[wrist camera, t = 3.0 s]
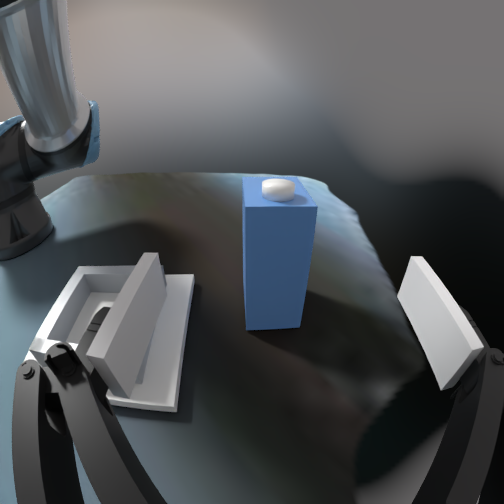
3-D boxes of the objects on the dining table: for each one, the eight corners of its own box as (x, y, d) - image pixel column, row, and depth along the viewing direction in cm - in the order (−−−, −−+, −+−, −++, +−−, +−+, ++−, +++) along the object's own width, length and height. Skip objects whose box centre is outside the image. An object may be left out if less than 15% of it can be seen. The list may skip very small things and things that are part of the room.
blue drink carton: (243, 283, 31) (242, 166, 24) (288, 281, 31) (297, 167, 24) (246, 330, 25) (245, 192, 18) (299, 327, 25) (319, 193, 18)
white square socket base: (76, 281, 30) (67, 258, 28) (194, 281, 31) (191, 255, 29) (22, 382, 16) (2, 358, 15) (176, 412, 17) (165, 390, 15)
